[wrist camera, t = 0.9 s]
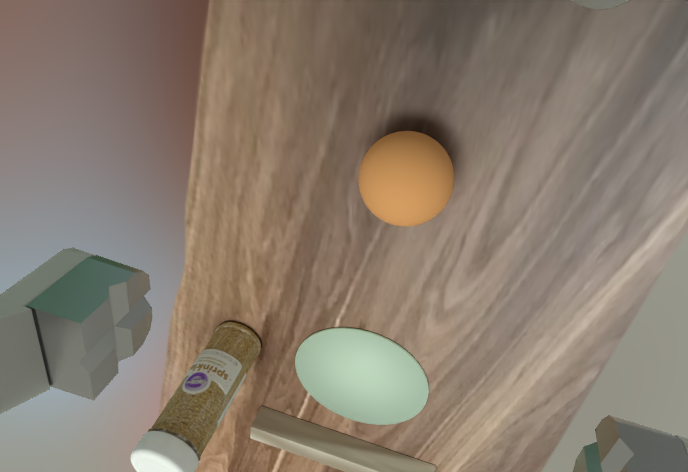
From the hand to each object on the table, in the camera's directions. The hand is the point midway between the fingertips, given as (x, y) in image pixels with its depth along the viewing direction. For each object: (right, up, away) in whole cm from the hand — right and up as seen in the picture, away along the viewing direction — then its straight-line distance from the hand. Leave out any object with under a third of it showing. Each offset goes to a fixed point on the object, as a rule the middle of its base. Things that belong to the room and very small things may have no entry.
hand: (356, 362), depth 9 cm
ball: (+3, +6, +21) cm, 22 cm away
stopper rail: (0, -18, +43) cm, 46 cm away
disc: (+1, -10, +37) cm, 38 cm away
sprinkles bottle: (-10, -7, +38) cm, 40 cm away
